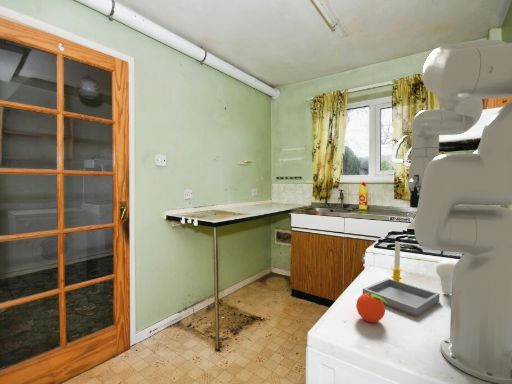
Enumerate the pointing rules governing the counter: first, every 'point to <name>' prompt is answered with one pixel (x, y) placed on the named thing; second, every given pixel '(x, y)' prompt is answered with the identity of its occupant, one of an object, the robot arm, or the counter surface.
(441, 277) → the lightbulb
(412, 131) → the robot arm
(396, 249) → the candle
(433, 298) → the tray
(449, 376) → the counter surface
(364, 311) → the clementine
